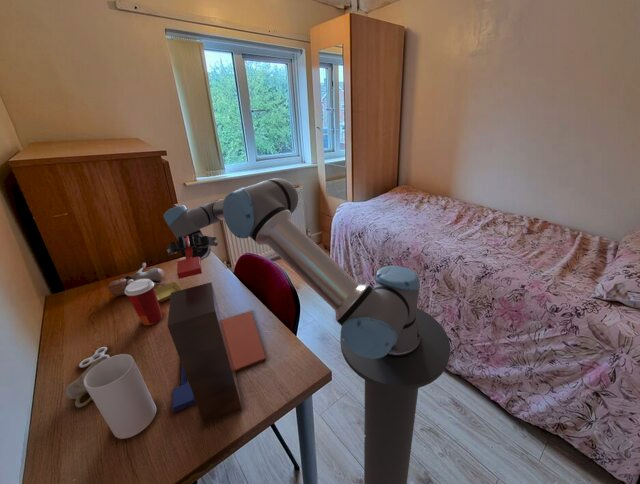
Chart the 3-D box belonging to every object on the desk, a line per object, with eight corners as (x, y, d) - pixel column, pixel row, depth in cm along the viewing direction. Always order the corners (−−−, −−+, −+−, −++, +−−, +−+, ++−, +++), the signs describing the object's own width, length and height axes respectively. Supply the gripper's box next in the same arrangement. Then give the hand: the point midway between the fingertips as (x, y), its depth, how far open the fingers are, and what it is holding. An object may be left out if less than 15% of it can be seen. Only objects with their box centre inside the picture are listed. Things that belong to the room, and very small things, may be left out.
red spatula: (179, 241, 75) (178, 236, 74) (198, 237, 77) (197, 233, 76) (178, 279, 60) (177, 273, 59) (201, 273, 61) (200, 268, 61)
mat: (251, 312, 97) (251, 311, 97) (265, 359, 79) (265, 357, 79) (213, 324, 92) (212, 323, 92) (219, 377, 74) (218, 376, 74)
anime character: (172, 274, 108) (115, 297, 96) (177, 288, 110) (122, 312, 98) (150, 254, 123) (98, 272, 111) (154, 267, 125) (104, 285, 113)
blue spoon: (176, 353, 82) (175, 349, 81) (193, 347, 84) (192, 343, 83) (174, 412, 66) (172, 408, 66) (195, 403, 68) (193, 399, 68)
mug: (66, 393, 71) (77, 353, 72) (115, 388, 77) (125, 351, 77) (58, 411, 65) (70, 367, 66) (112, 404, 71) (122, 364, 71)
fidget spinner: (77, 369, 77) (76, 367, 77) (90, 351, 83) (89, 349, 83) (107, 363, 79) (106, 361, 79) (117, 345, 85) (116, 343, 84)
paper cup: (167, 309, 99) (155, 275, 94) (163, 323, 93) (149, 288, 87) (141, 315, 97) (127, 280, 91) (135, 330, 90) (119, 294, 85)
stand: (235, 372, 76) (211, 281, 64) (242, 408, 67) (215, 311, 55) (202, 385, 72) (170, 292, 60) (204, 425, 63) (167, 325, 51)
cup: (123, 406, 68) (96, 358, 61) (161, 398, 69) (140, 350, 63) (105, 443, 60) (73, 393, 54) (148, 432, 62) (123, 382, 56)
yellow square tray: (151, 295, 107) (150, 290, 106) (176, 285, 113) (175, 280, 112) (158, 305, 101) (156, 300, 101) (184, 294, 107) (183, 289, 106)
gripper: (222, 253, 92) (222, 249, 70) (171, 265, 86) (154, 264, 64) (217, 231, 92) (215, 220, 71) (166, 241, 86) (146, 232, 64)
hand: (186, 241), depth 67 cm, fingers closed on red spatula
